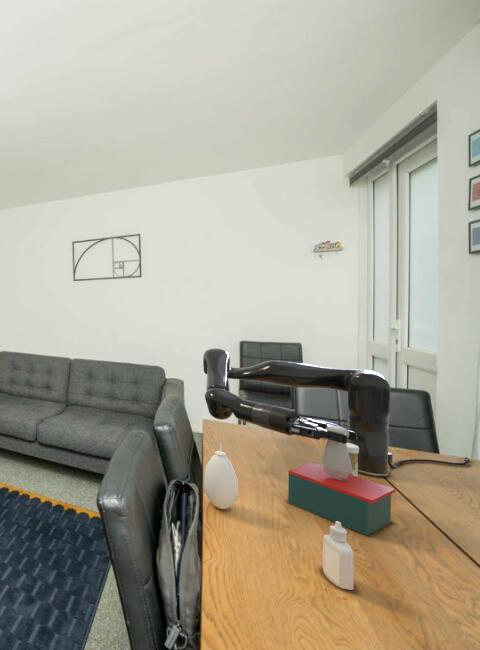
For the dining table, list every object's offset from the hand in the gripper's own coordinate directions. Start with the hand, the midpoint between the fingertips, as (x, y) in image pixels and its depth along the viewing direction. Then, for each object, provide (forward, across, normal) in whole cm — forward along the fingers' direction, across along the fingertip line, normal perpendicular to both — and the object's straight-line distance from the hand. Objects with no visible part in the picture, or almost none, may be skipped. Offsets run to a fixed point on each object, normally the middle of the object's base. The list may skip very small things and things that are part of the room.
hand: (351, 438), depth 93 cm
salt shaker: (-3, 0, +11) cm, 12 cm away
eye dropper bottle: (+10, -31, +21) cm, 39 cm away
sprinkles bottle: (-8, +19, +21) cm, 30 cm away
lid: (-2, 0, +13) cm, 13 cm away
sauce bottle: (-16, -26, +21) cm, 37 cm away
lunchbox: (-3, 0, +21) cm, 21 cm away
